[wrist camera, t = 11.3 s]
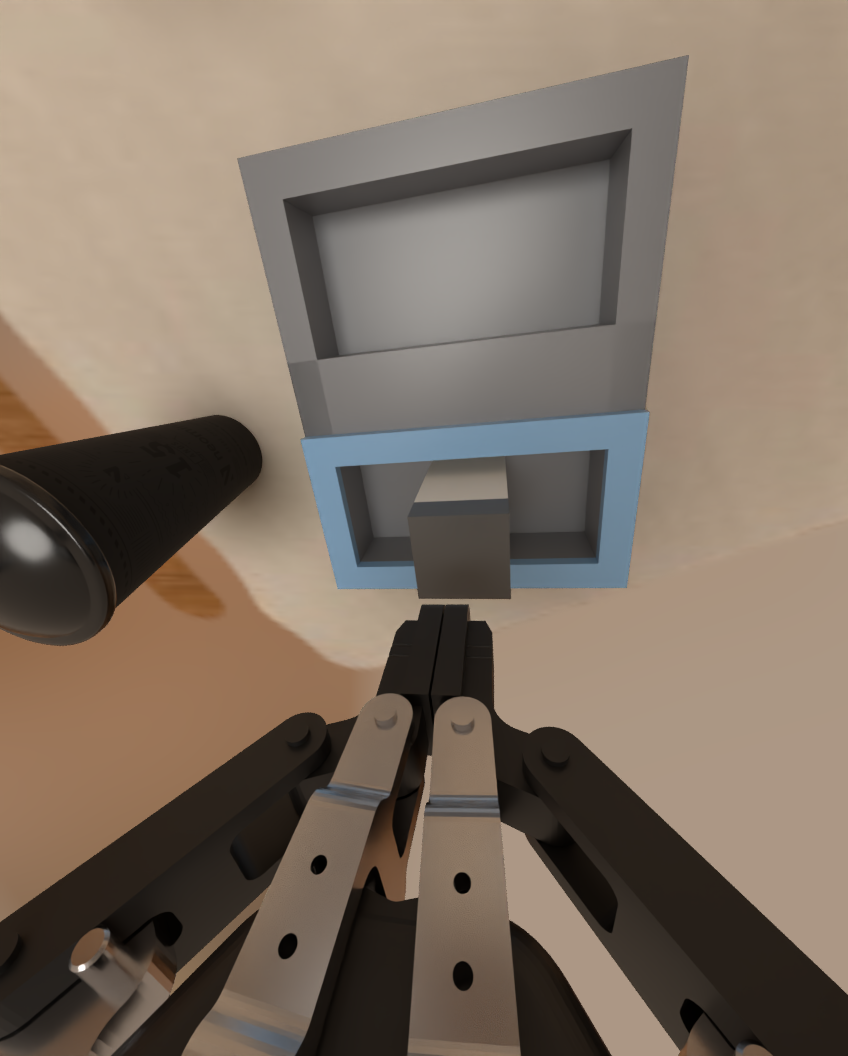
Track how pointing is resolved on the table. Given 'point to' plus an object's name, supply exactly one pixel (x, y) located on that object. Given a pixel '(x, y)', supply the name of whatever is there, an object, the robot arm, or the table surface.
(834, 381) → the table surface
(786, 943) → the robot arm
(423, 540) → the gray rectangular block
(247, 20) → the table surface
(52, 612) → the drinking cup
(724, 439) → the table surface
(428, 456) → the divided storage tray
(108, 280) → the table surface
